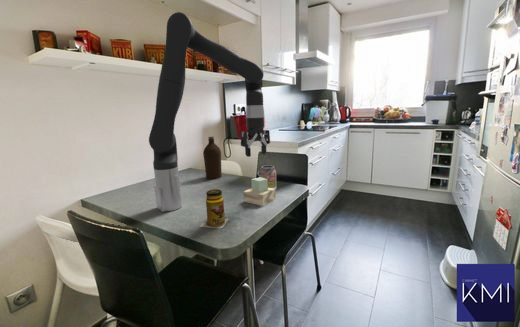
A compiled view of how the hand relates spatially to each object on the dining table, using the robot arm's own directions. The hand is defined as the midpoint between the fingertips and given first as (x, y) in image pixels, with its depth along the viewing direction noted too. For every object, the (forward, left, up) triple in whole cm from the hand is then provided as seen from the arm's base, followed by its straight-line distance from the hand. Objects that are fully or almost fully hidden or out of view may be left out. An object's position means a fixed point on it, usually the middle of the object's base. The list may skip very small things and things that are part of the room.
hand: (256, 155), depth 106 cm
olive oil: (+8, +51, -20) cm, 56 cm away
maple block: (0, -1, -21) cm, 21 cm away
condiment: (-27, -7, -20) cm, 34 cm away
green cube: (0, -1, -15) cm, 15 cm away
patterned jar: (+12, +7, -20) cm, 25 cm away
